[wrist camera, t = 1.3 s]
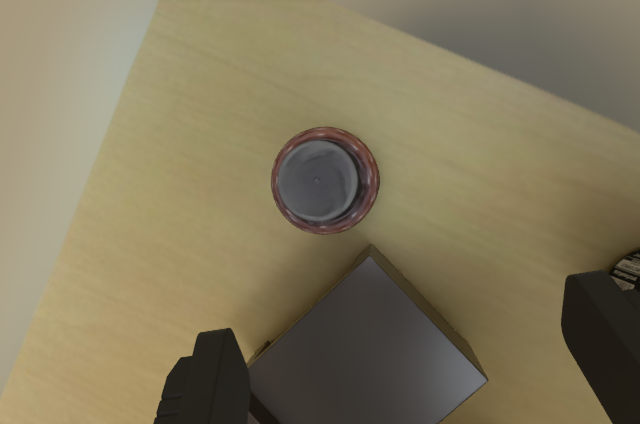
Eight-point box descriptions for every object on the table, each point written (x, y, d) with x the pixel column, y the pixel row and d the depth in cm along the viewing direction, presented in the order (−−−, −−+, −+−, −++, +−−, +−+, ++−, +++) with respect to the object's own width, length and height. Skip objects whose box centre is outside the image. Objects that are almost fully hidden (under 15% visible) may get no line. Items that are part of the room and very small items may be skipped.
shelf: (371, 243, 35) (368, 259, 27) (471, 347, 34) (496, 393, 26) (254, 353, 36) (218, 398, 29) (347, 454, 36) (337, 528, 28)
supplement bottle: (280, 172, 35) (232, 165, 24) (347, 122, 34) (329, 91, 23) (328, 239, 35) (302, 264, 24) (397, 191, 34) (403, 193, 23)
